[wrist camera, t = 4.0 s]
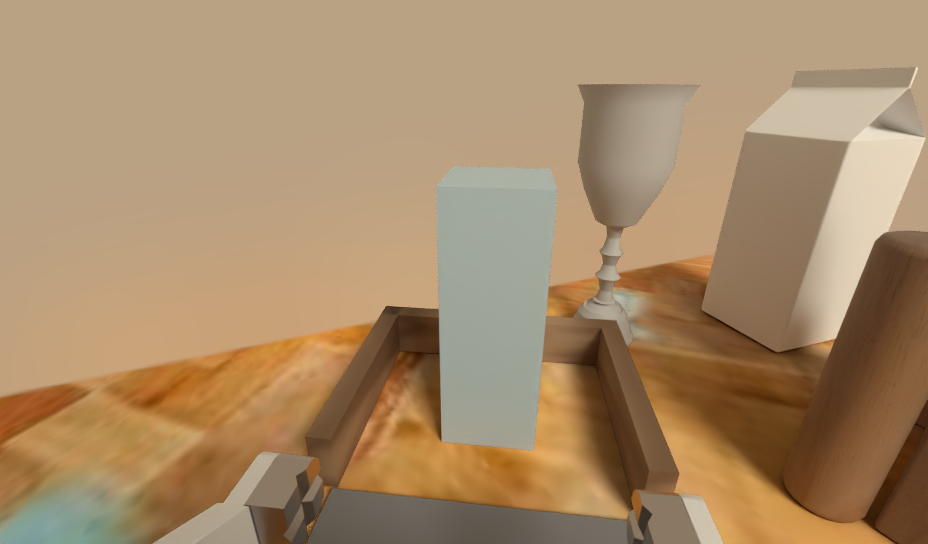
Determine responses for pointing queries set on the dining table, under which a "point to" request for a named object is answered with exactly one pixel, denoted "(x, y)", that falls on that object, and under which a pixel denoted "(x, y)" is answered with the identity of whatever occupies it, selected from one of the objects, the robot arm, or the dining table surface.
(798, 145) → the milk carton
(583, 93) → the chalice
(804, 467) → the wooden toy
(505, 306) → the block
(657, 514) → the robot arm
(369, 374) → the wooden rectangular frame
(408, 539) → the dark grey flat plate
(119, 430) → the dining table surface
